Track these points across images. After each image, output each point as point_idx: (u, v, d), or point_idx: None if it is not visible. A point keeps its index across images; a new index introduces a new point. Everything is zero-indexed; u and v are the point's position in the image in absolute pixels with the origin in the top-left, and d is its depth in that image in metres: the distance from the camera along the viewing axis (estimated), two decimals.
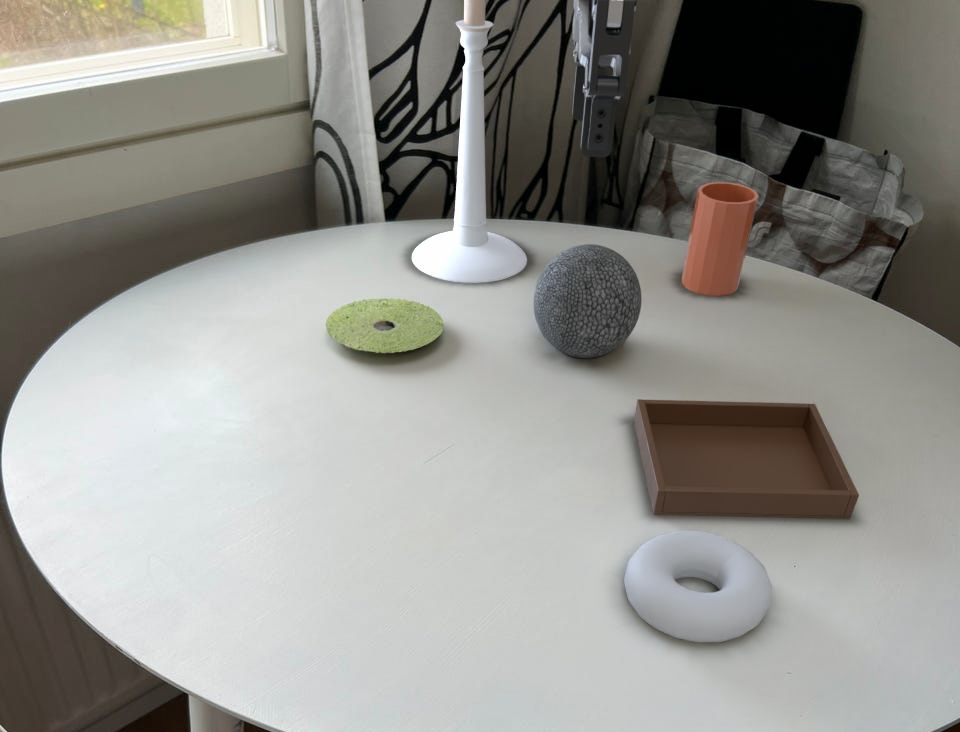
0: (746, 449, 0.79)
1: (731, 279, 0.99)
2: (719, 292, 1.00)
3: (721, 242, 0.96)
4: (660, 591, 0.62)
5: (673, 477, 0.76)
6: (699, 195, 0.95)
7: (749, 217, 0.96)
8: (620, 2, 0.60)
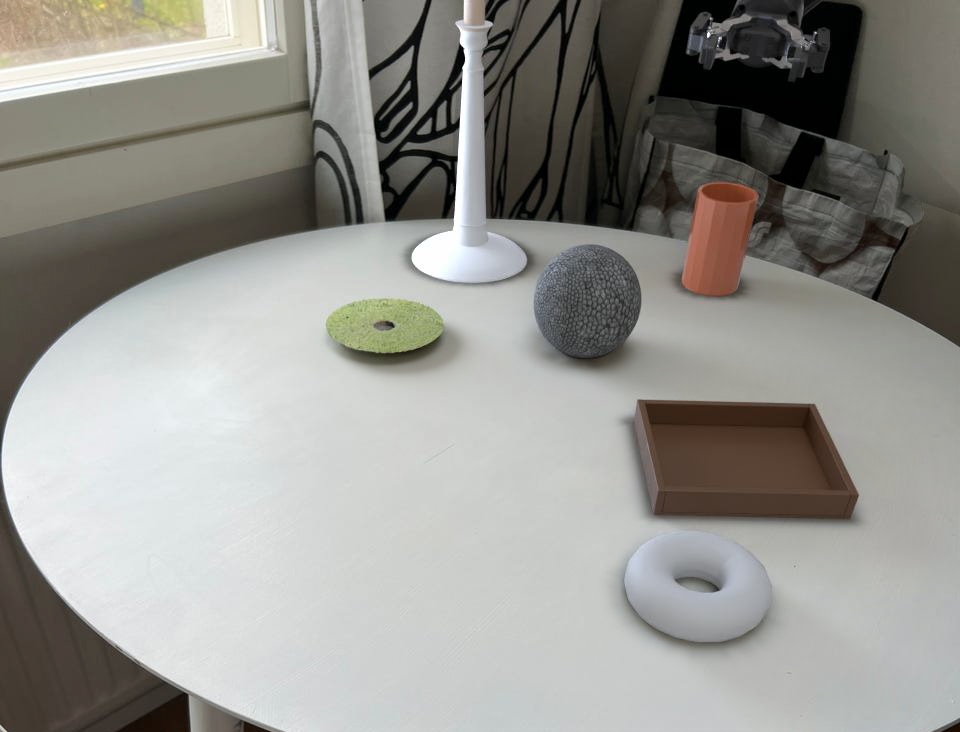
0: (746, 449, 0.79)
1: (731, 279, 0.99)
2: (719, 292, 1.00)
3: (721, 242, 0.96)
4: (660, 591, 0.62)
5: (673, 477, 0.76)
6: (699, 195, 0.95)
7: (749, 217, 0.96)
8: None
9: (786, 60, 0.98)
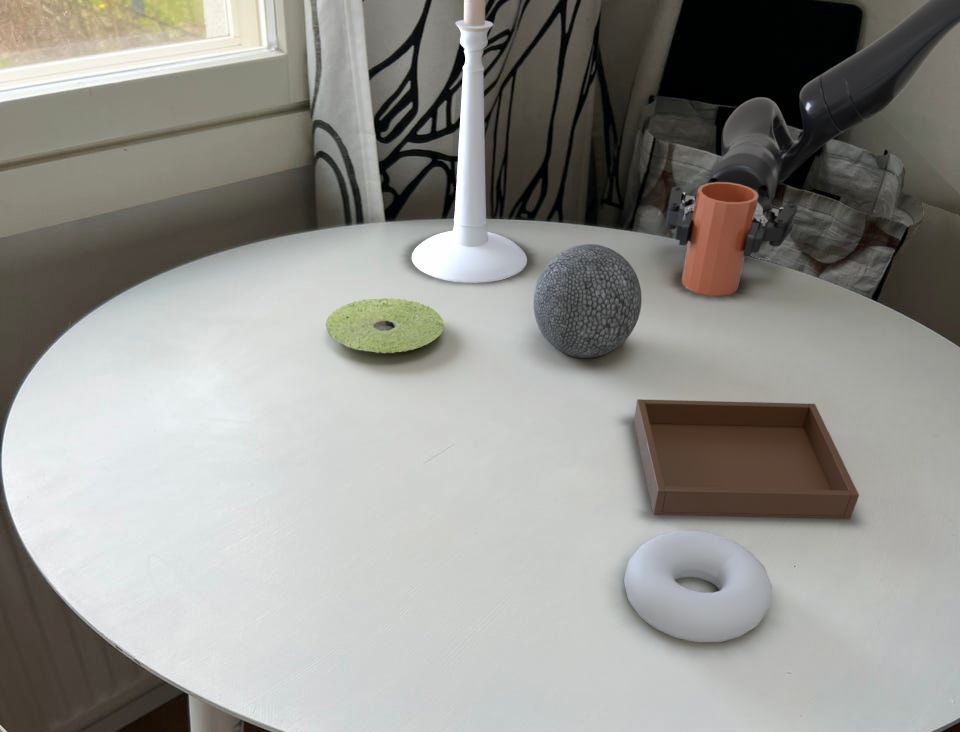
0: (746, 449, 0.79)
1: (731, 279, 0.99)
2: (719, 292, 1.00)
3: (721, 242, 0.96)
4: (660, 591, 0.62)
5: (673, 477, 0.76)
6: (699, 195, 0.95)
7: (749, 217, 0.96)
8: None
9: None
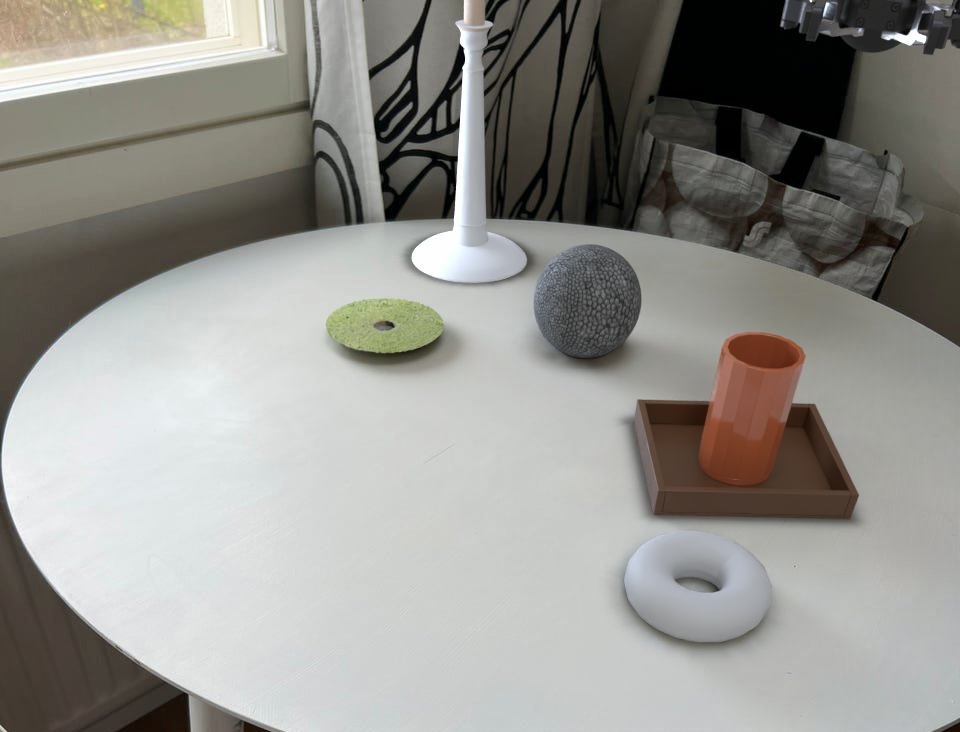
0: None
1: (766, 459, 0.74)
2: (750, 475, 0.75)
3: (754, 417, 0.71)
4: (660, 591, 0.62)
5: (673, 477, 0.76)
6: (725, 356, 0.70)
7: (793, 385, 0.70)
8: None
9: (917, 33, 0.73)
